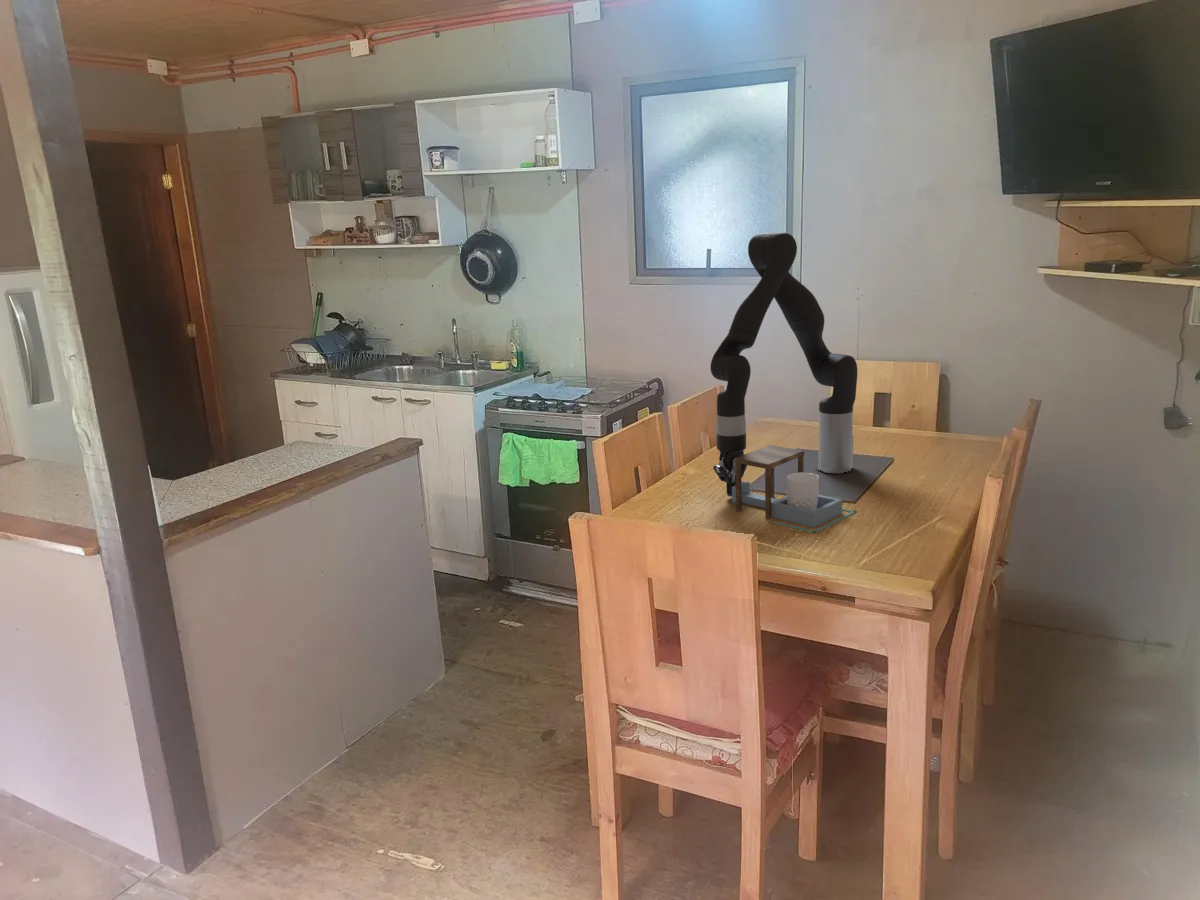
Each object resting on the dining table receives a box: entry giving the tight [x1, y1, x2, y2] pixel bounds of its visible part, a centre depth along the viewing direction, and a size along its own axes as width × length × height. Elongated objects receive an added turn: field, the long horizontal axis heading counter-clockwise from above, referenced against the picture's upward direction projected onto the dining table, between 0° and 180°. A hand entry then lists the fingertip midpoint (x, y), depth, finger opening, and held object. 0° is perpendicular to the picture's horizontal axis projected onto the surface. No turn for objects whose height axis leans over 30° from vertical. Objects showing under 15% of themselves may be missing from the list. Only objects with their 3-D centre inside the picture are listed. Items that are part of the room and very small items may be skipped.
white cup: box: [785, 471, 820, 511], centre depth 211 cm, size 8×8×10 cm
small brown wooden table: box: [735, 444, 805, 520], centre depth 217 cm, size 15×10×14 cm, turn 134°
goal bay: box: [773, 507, 858, 534], centre depth 210 cm, size 18×11×1 cm, turn 134°
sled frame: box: [731, 480, 843, 528], centre depth 216 cm, size 12×26×4 cm, turn 44°
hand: (732, 495), depth 227 cm, fingers closed
